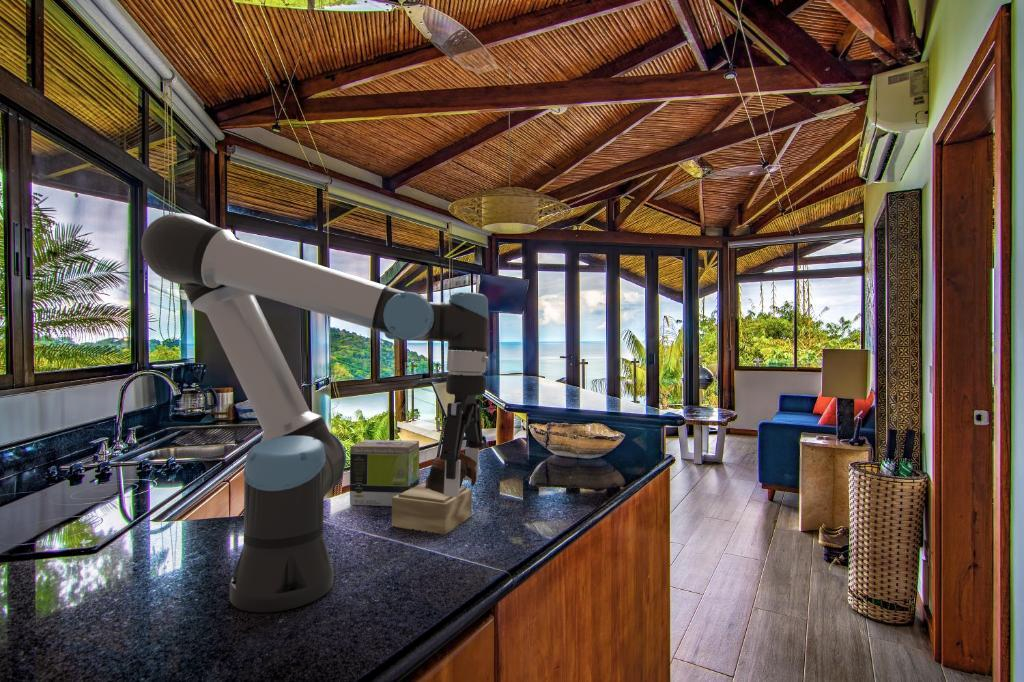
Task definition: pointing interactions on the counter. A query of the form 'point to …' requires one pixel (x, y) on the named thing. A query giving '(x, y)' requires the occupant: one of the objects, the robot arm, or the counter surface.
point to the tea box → (382, 470)
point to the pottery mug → (438, 473)
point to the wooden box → (430, 509)
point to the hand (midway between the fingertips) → (461, 487)
